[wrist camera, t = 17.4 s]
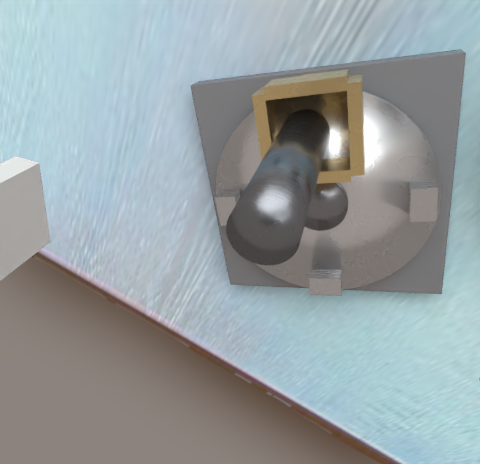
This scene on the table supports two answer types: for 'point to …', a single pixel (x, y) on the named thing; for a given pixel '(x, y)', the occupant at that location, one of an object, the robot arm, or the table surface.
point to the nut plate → (385, 85)
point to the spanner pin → (280, 192)
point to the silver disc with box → (343, 181)
